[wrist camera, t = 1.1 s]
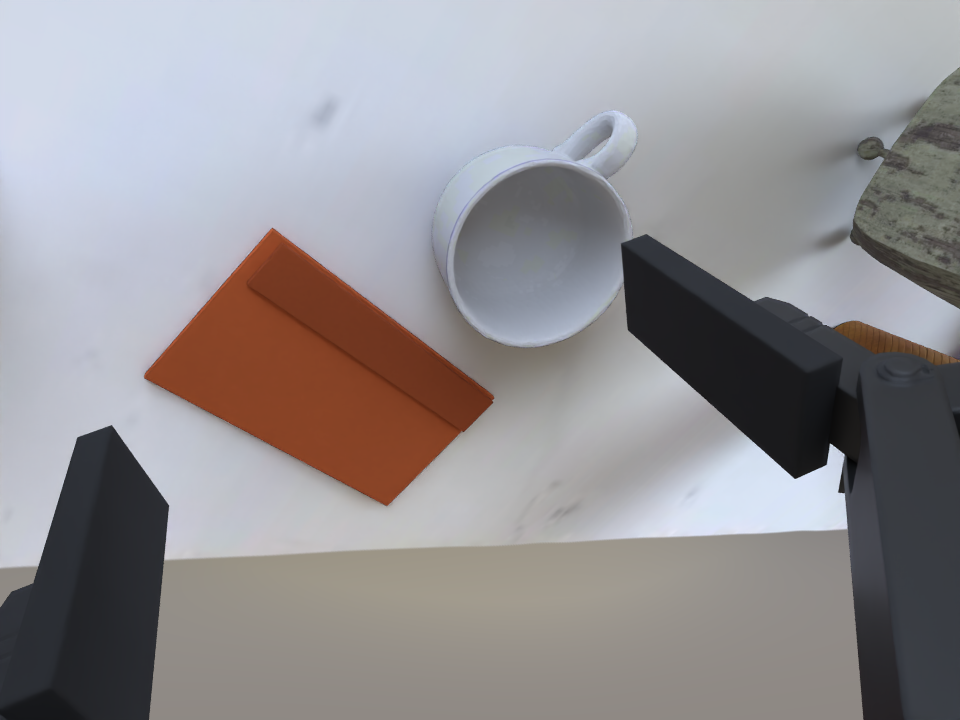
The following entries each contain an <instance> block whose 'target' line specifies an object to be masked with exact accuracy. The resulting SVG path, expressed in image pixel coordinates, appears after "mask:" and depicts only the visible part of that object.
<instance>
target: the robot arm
mask: <svg viewBox="0 0 960 720" xmlns="http://www.w3.org/2000/svg"><path fill="white" fill-rule="evenodd" d="M621 253H622V265H623V277H624V290H625V302H626V314H627V326H628V331H629V332H631V333H632V334H633V335H634V336H635V337H636V338H637V339H638V340H640V341H641V342H642V343H643V344H644V345H645V346H646V347H647V348H649V349H650V350H651V351H652V352H653V353H654V354H655V355H656V356H658V357H659V358H660V359H661V360H662V361H663V362H664V363H665V364H667V365H668V366H669V367H670V368H671V369H672V370H673V371H674V372H675V373H677V374H678V375H679V376H680V377H681V378H682V379H683V380H684V381H686V382H687V383H688V384H689V385H690V386H691V387H692V388H693V389H695V390H696V391H697V392H698V393H699V394H700V395H701V396H702V397H704V398H705V399H706V400H707V401H708V402H709V403H710V404H711V405H713V406H714V407H715V408H716V409H717V410H718V411H719V412H720V413H722V414H723V415H724V416H725V417H726V418H727V419H728V420H729V421H731V422H732V423H733V424H734V425H735V426H736V427H737V428H738V429H739V430H741V431H742V432H743V433H744V434H745V435H746V436H747V437H748V438H750V439H751V440H752V441H753V442H754V443H755V444H756V445H757V446H759V447H760V448H761V449H762V450H763V451H764V452H765V453H766V454H768V455H769V456H770V457H771V458H772V459H773V460H774V461H775V462H777V463H778V464H779V465H780V466H781V467H782V468H783V469H784V470H786V471H787V472H788V473H789V474H790V475H791V476H792V477H793V478H794V479H796V478H799V477H801V476H803V475H805V474H807V473H810V472H812V471H814V470H816V469H819V468H821V467H823V466H825V465H827V459H828V453H829V446H830V443H831V444H832V445H833V446H835V447H836V448H837V449H839V450H840V451H841V452H842V453H844V454H845V457H844V463H843V468H842V474H841V480H840V485H839V491H838V493H845V500H846V512H847V524H848V535H849V549H850V560H851V573H852V584H853V596H854V609H855V621H856V632H857V633H856V634H857V646H858V657H859V670H860V682H861V694H862V707H863V719H864V720H960V362H955V363H948V364H941V365H934V364H932V363H931V362H929V361H928V360H927V359H924V358H922V357H919V356H916V355H913V354H908V353H901V352H883V353H878V354H874V353H873V352H871V351H869V350H868V349H866V348H864V347H863V346H861V345H859V344H857V343H856V342H854V341H852V340H851V339H849V338H847V337H846V336H844V335H842V334H841V333H839V332H837V331H836V330H834V329H832V328H830V327H829V326H827V325H824V326H823V324H822V322H820V321H819V320H817V319H815V318H814V317H812V316H810V317H809V316H808V314H807V313H805V312H803V311H802V310H800V309H798V308H797V307H795V306H793V305H792V304H790V303H786V302H783V301H779V300H776V299H772V298H768V297H765V298H762V299H759V300H757V301H752V300H750V299H749V298H747V297H746V296H744V295H743V294H741V293H739V292H738V291H736V290H735V289H733V288H731V287H730V286H728V285H727V284H725V283H723V282H722V281H720V280H719V279H717V278H715V277H714V276H712V275H711V274H709V273H707V272H706V271H704V270H703V269H701V268H699V267H698V266H696V265H695V264H693V263H691V262H690V261H688V260H687V259H685V258H684V257H682V256H680V255H679V254H677V253H676V252H674V251H672V250H671V249H669V248H668V247H666V246H664V245H663V244H661V243H660V242H658V241H656V240H655V239H653V238H652V237H650V236H648V235H647V234H646V235H643V236H640V237H637V238H635V239H632V240H629V241H626V242H623V243H621ZM168 511H169V505H168V503H167V502H166V501H165V499H164V498H163V496H162V495H161V494H160V492H159V491H158V489H157V488H156V487H155V485H154V484H153V482H152V481H151V480H150V478H149V477H148V475H147V474H146V473H145V471H144V470H143V468H142V467H141V466H140V464H139V463H138V461H137V460H136V459H135V457H134V456H133V454H132V453H131V452H130V450H129V449H128V447H127V446H126V444H125V443H124V442H123V440H122V439H121V437H120V436H119V435H118V433H117V432H116V430H115V429H114V428H113V426H112V425H111V426H108V427H105V428H103V429H100V430H97V431H94V432H91V433H89V434H86V435H83V436H80V437H77V441H76V444H75V447H74V451H73V454H72V457H71V461H70V464H69V467H68V471H67V474H66V477H65V480H64V484H63V487H62V490H61V494H60V497H59V500H58V504H57V507H56V510H55V514H54V517H53V520H52V523H51V527H50V530H49V533H48V537H47V540H46V543H45V547H44V550H43V553H42V557H41V560H40V563H39V566H38V570H37V573H36V576H35V580H34V583H33V584H30V585H28V586H26V587H23V588H20V589H18V590H15V591H12V592H11V593H10V595H9V596H8V597H7V599H6V600H5V602H4V603H3V605H2V606H1V607H0V720H149V713H150V702H151V691H152V680H153V670H154V660H155V649H156V637H157V627H158V617H159V606H160V596H161V585H162V575H163V564H164V553H165V543H166V532H167V522H168Z"/></svg>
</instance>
